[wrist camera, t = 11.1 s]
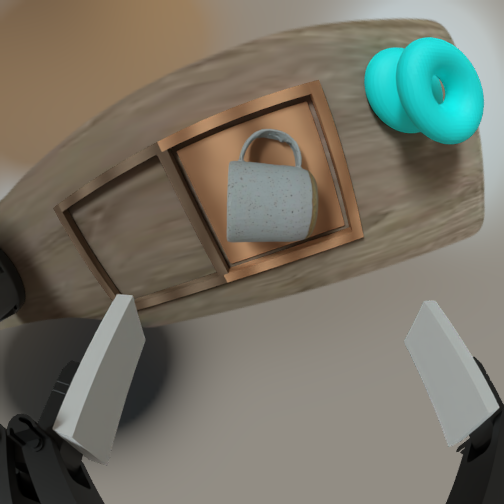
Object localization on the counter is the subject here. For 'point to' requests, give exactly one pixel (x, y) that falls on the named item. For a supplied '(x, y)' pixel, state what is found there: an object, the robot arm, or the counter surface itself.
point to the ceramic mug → (270, 197)
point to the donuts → (426, 90)
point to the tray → (216, 185)
